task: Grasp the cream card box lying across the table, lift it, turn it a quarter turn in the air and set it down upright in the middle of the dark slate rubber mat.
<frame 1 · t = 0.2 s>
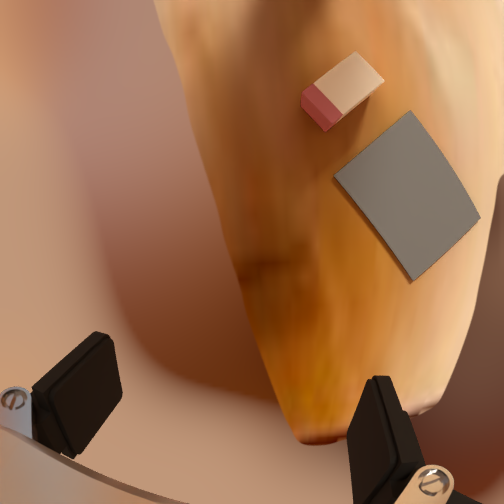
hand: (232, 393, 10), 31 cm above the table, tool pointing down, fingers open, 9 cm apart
mat: (414, 196, 36), on the table
card box: (336, 99, 34), on the table
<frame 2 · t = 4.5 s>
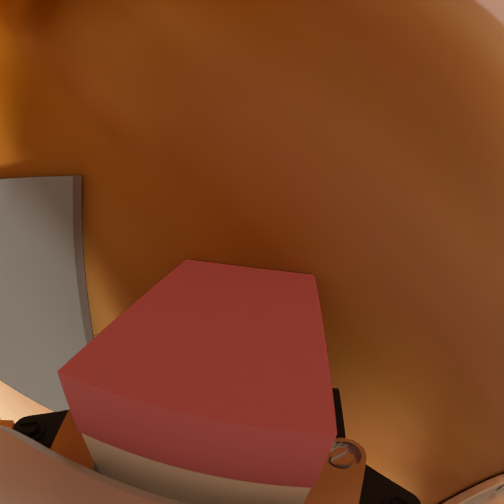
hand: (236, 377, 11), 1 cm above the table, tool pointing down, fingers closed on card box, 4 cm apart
card box: (240, 364, 12), on the table, touching gripper
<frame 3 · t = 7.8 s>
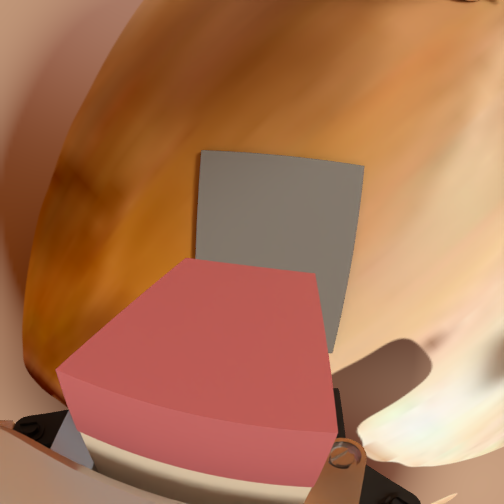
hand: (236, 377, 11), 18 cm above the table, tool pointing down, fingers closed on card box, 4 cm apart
mat: (272, 257, 28), on the table
card box: (240, 363, 12), point 17 cm above the table, touching gripper
when the fingers open (3 cm above the table, at t = 11.3 s): card box drops 2 cm, resting on mat.
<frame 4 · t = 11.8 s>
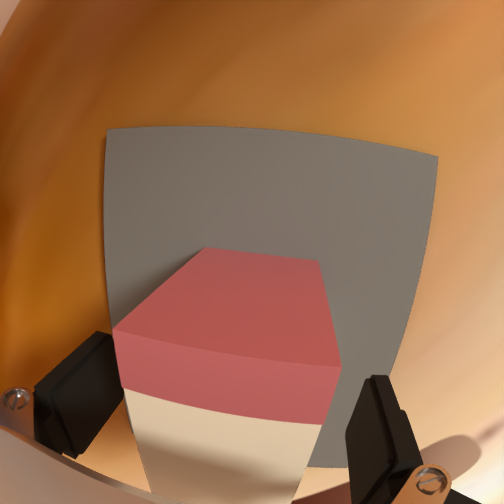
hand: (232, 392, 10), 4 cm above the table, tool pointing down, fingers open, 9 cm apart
mat: (248, 336, 14), on the table
card box: (251, 342, 13), point 1 cm above the table, touching mat
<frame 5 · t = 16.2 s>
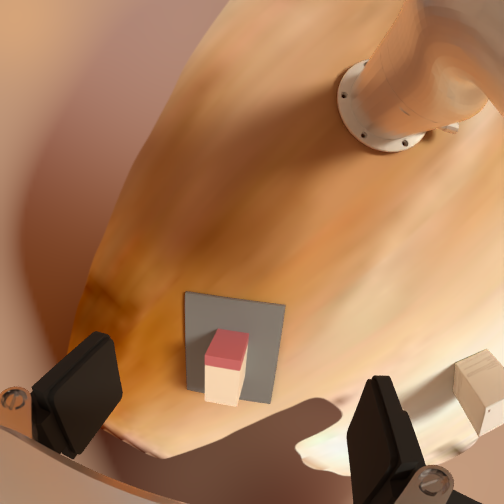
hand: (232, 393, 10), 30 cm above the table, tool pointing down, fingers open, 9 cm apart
mat: (231, 352, 44), on the table
card box: (231, 354, 44), point 1 cm above the table, touching mat
supplement box: (469, 370, 40), on the table
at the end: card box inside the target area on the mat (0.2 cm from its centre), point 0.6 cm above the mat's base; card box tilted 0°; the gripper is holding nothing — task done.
